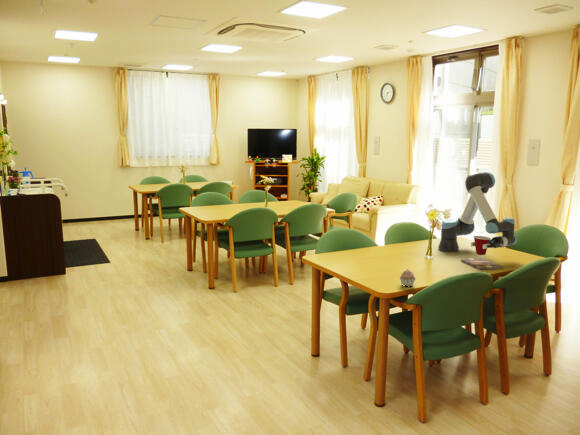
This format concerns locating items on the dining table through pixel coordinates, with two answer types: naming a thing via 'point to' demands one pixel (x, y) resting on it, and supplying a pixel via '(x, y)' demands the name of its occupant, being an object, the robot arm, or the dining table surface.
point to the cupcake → (407, 278)
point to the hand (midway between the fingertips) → (477, 245)
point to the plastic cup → (481, 244)
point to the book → (481, 264)
